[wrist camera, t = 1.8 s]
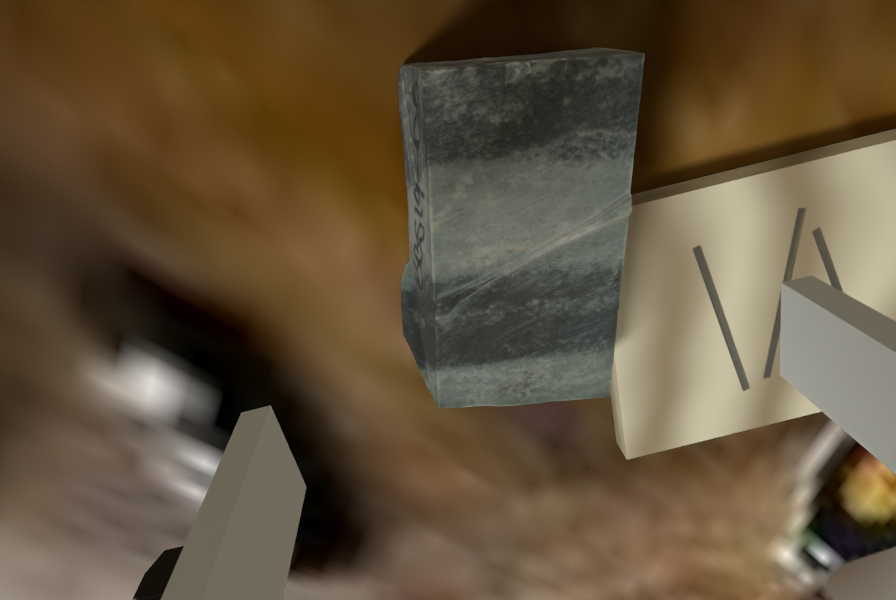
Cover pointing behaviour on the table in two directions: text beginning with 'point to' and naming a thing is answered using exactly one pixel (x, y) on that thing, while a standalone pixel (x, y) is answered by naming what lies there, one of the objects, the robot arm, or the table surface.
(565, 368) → the stone block
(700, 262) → the board
